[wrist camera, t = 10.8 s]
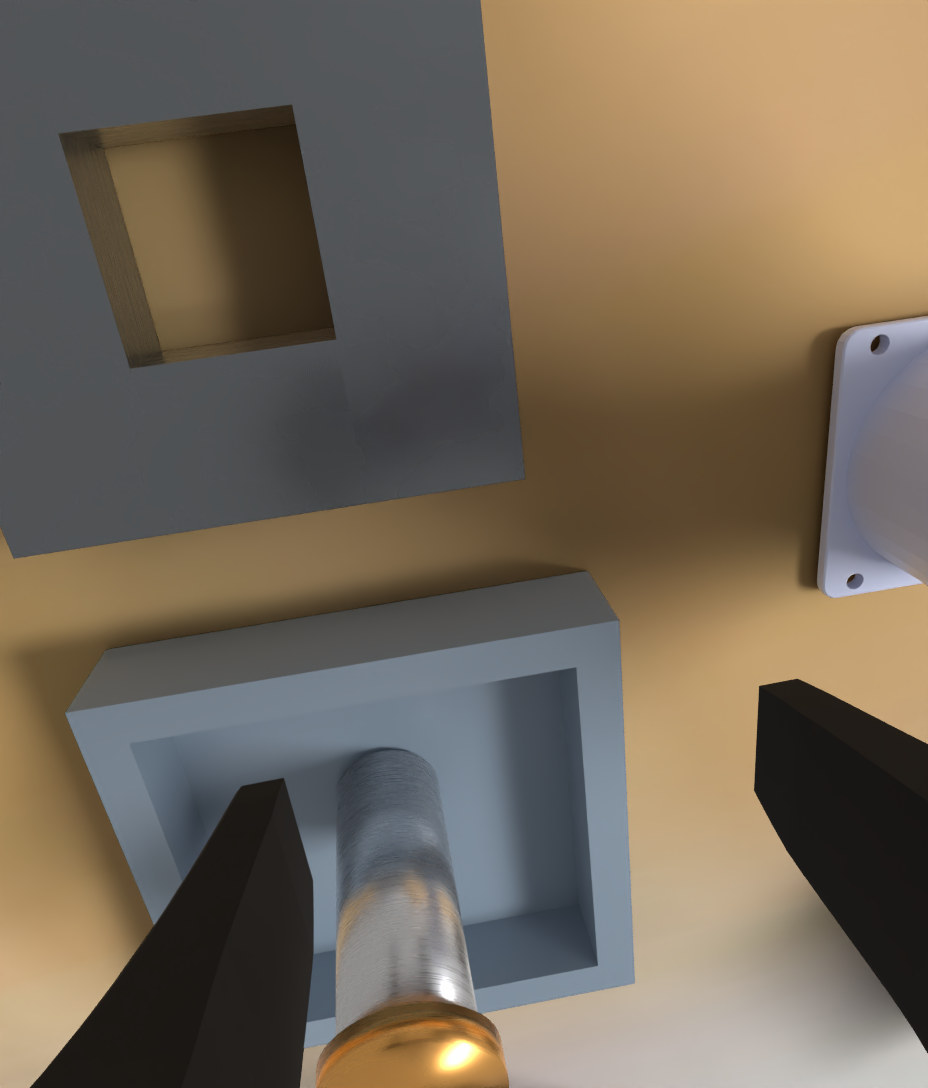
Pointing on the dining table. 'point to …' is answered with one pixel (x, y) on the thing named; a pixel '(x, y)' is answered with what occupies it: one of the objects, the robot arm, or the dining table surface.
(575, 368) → the dining table surface
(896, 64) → the dining table surface
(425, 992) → the pin
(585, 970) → the tray
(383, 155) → the grey square frame
